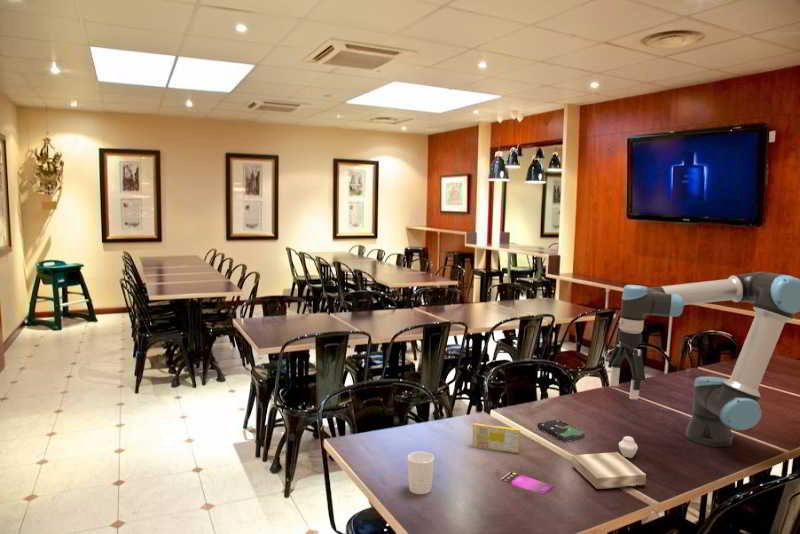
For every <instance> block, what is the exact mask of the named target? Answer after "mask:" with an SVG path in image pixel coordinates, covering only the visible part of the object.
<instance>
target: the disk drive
mask: <svg viewBox="0 0 800 534" xmlns="http://www.w3.org/2000/svg"><path fill="white" fill-rule="evenodd" d="M537 427H538V428H539V429H541V430H543V431H545V432H547V433H548V434H550V435H552V436H554V437H556V438H558V439H559V440H561V441H563V442H565V443H567V442H566V441H569V440H574V439H579V440H581V439H580V438H583V439H585V437H586V434H585V433H584V431H582V430H581V429H579V428H576V427H574V426H572V425H570V424H569V423H566V422H565V421H562V420H560V419H558V418H557V419H554V420H545V422H537ZM539 429H538V430H539ZM541 430H540V431H541ZM543 431H542V432H543ZM545 432H544V433H545ZM548 434H547V435H548ZM550 435H549V436H550ZM552 436H551V437H552ZM554 437H553V438H554ZM556 438H555V439H556ZM558 439H557V440H558ZM559 440H558V441H559ZM561 441H560V442H561ZM574 441H575V440H574ZM563 442H562V443H563Z"/></svg>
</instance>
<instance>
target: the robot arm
mask: <svg viewBox="0 0 800 534" xmlns="http://www.w3.org/2000/svg"><path fill="white" fill-rule="evenodd" d="M726 301H732V302H734V303H741V302H742V303H744V302H745V303H752V304H753V307H752V309H753V310H754V312H755V315H754V318H753V320H752V323H751V325H750V328H749V331H748V333H747V335H746V338H745V339H744V343H743V345H742V348H741V351H740V353H739V355H738V356H737V360H736V363H735V365H734V367H733V371H732V372H731V375H730V377H729V378H725V377H717V376H698V377H696V378H695V379H694V382H693V383H694V385H693V396H692V397H693V398H692V400H693V401H692V411H691V412H692V414H691V418H690V419H689V422H688V425H687V426H686V429H685V437H686V438H687V439H688V440H689V441H692V442H694V443H697V444H699V445H703V446H707V447H714V448H725V447H730V446H732V445H733V434H732V430H731V429H734V430H736V431H737V430H738V431H746V430H748V429H751V428H754V427H755V426H756V425H757V424H758V423H759V422H760V420H761V419H762V409H761V406H760V404H759V402H760V398H761V395H762V394H760V391H759V387H760V384H761V382H762V380H763V377H764V375H765V373H766V370H767V367H768V365H769V363H770V360H771V358H772V355H773V353H774V350H775V348H776V345H777V344H778V343H777V342H778V340H779V339H780V336H781V334H782V331H783V329H784V326H785V324H786V323H788V322H791V321H792V320H793V318H794V316H795V314H796V313H799V312H800V278H797V277H794V276H791V275H787V274H781V273H774V272H771V271H770V272H769V271H757V272H748V273H742V274H736V275H735V274H733V275H730V276H729V277H728V278H727V279H726V278H724V279H716V280H708V281H700V282H689V283H681V284H680V283H679V284H672V285H662V286H661V285H660V286H654V287H648V286H643V285H638V284H637V285H635V284H627V285H625V286H624V287H623V291H622V296H621V304H620V305H621V306H620V315H619V317H620V318H619V320H618V324H619V325H618V329H619V330H618V331H617V332H618V334H617V340H615V343H614V347H613V349H612V352H611V354H610V357H609V359H608V363H609V364H610V366H611V371H610V381H609V386H610V387H618V386H619V382H620V372H621V364H622V362H623V361H624V360H625V359H626V360H627V362H628V363H629V367H630V371H631V376H632V377H631V380H630V388H629V389H630V390H629V396H628V397H629V398H628V399H630V400H639V396H640V395H639V394H640V387H641V382H642V381H645V380H646V374H645V366H644V358H643V355H644V353H643V352H644V351H643V349H638V345H641V344H642V340H643V333H642V332H643V330H644V323H645V322H644V321H645V315H647V316H661V317H669V318H670V317H680V316H681V314H683V310H684V306H687V305H689V306H690V305H697V304H707V303H715V302H726Z"/></svg>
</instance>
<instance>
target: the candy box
mask: <svg viewBox="0 0 800 534" xmlns="http://www.w3.org/2000/svg"><path fill="white" fill-rule="evenodd" d="M520 431H521V429H520V428H515V427H506V426H499V425H491V424H482V423H475V422H473V424H472V442H471V443H472V448H478V449H485V450H493V451H498V452H499V451H500V452H506V453H512V454H513V453H514V454H519V453H520Z"/></svg>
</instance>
